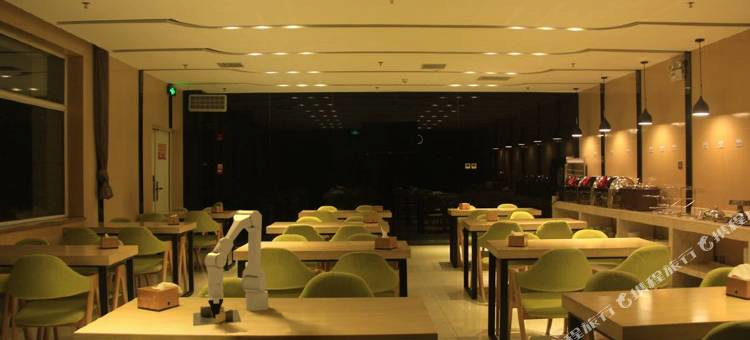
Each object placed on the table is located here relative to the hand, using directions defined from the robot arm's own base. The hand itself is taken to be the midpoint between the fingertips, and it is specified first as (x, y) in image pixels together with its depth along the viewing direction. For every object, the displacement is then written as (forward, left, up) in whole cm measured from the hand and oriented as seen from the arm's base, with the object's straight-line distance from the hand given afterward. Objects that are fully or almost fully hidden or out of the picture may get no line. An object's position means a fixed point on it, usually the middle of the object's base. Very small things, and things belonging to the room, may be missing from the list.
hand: (215, 318), depth 227 cm
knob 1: (+1, -12, -1) cm, 12 cm away
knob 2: (-3, 0, -1) cm, 3 cm away
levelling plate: (0, -7, -3) cm, 8 cm away
